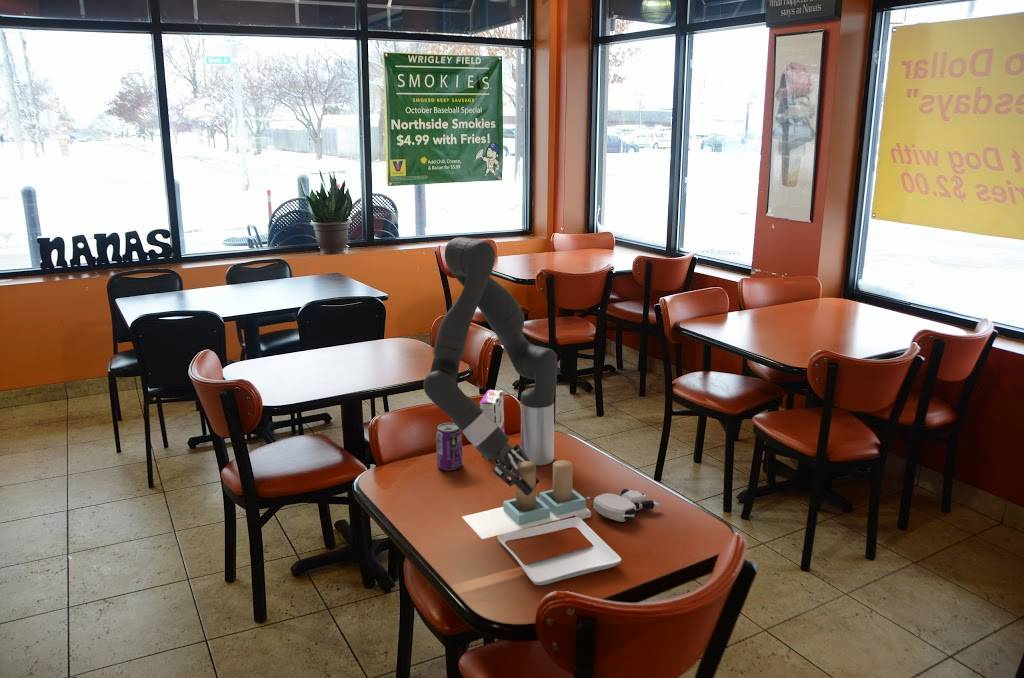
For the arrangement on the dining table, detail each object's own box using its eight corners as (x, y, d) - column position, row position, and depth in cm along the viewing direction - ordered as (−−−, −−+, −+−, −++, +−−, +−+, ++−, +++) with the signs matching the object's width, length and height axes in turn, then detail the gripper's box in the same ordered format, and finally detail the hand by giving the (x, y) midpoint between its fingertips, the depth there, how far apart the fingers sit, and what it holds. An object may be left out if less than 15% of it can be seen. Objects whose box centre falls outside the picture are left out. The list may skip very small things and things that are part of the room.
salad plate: (534, 596, 167) (534, 581, 166) (495, 547, 186) (495, 533, 185) (623, 573, 175) (624, 559, 174) (578, 528, 194) (578, 515, 193)
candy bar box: (488, 440, 245) (487, 389, 241) (505, 441, 244) (504, 390, 240) (480, 455, 235) (478, 402, 230) (496, 456, 234) (496, 403, 229)
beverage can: (461, 472, 224) (460, 431, 221) (436, 472, 224) (434, 431, 221) (463, 461, 231) (462, 421, 228) (438, 461, 231) (437, 422, 228)
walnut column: (512, 505, 198) (512, 463, 195) (530, 501, 200) (530, 459, 197) (521, 513, 194) (521, 471, 191) (539, 509, 196) (539, 467, 193)
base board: (461, 522, 197) (460, 474, 193) (566, 496, 209) (566, 451, 206) (482, 545, 186) (481, 495, 183) (590, 516, 199) (591, 469, 195)
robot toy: (625, 498, 210) (583, 512, 201) (626, 482, 209) (584, 495, 199) (662, 515, 201) (620, 531, 191) (663, 498, 200) (621, 513, 190)
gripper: (485, 437, 187) (535, 492, 187) (505, 416, 200) (552, 467, 200) (464, 456, 190) (513, 510, 190) (486, 433, 203) (532, 484, 203)
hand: (533, 488), depth 195 cm, fingers closed on walnut column, 4 cm apart
